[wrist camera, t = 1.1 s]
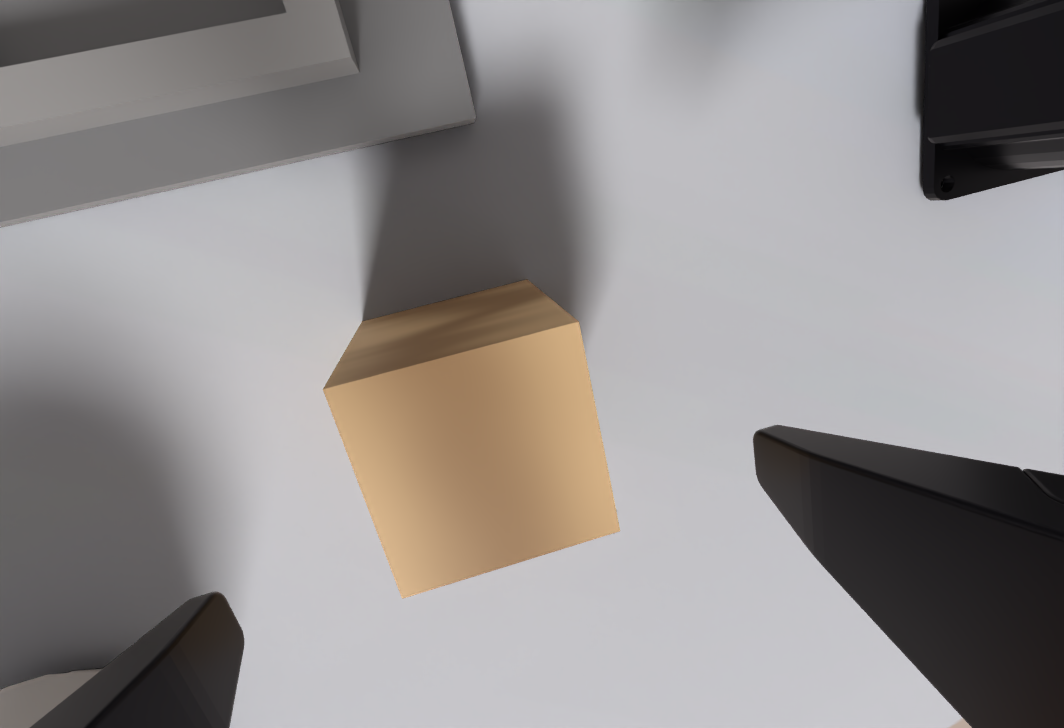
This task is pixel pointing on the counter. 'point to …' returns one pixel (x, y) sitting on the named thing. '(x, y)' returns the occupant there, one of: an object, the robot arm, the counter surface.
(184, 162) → the grey tray
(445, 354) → the oak block
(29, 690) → the can
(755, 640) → the counter surface
